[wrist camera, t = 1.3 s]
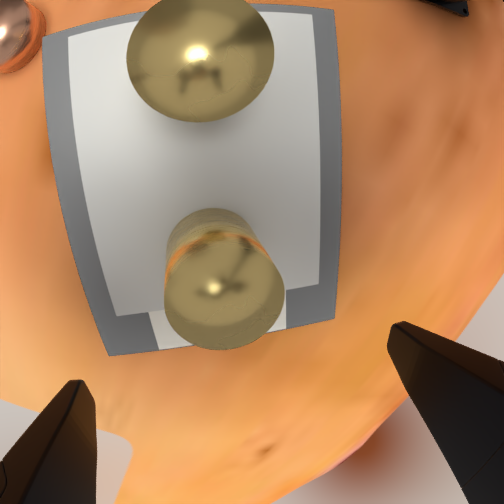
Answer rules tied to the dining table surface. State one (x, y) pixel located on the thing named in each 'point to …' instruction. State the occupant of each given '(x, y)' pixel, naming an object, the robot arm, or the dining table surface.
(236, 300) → the gold cylinder
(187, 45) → the brass short cylinder
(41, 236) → the dining table surface
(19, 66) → the brown short cylinder
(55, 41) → the scale
